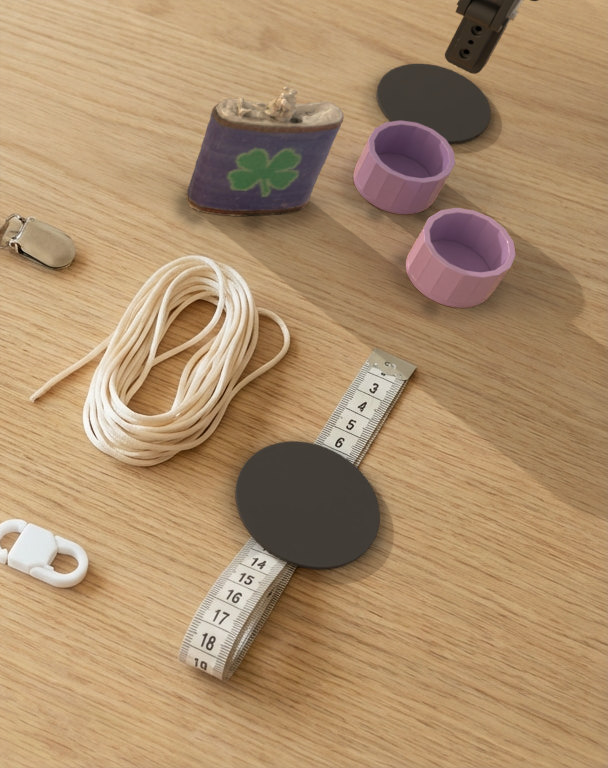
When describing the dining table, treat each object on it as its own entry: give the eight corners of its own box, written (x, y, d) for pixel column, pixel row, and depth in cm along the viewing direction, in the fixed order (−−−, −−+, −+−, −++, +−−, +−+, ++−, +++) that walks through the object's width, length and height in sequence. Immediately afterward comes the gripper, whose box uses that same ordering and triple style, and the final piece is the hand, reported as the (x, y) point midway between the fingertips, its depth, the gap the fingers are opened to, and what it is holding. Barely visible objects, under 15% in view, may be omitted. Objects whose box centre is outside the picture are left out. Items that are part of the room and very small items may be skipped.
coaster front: (341, 432, 80) (343, 430, 80) (402, 554, 75) (404, 551, 75) (214, 457, 78) (215, 454, 78) (267, 582, 74) (269, 580, 73)
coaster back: (456, 60, 101) (458, 57, 101) (509, 135, 96) (511, 133, 96) (357, 73, 100) (359, 70, 100) (406, 151, 95) (408, 148, 95)
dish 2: (467, 234, 90) (488, 202, 87) (509, 300, 87) (532, 269, 84) (390, 247, 89) (408, 215, 86) (429, 314, 86) (449, 283, 83)
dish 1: (413, 148, 95) (430, 115, 92) (450, 207, 92) (470, 175, 89) (339, 160, 94) (354, 126, 91) (374, 220, 91) (391, 187, 88)
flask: (303, 188, 92) (350, 80, 83) (311, 217, 91) (359, 110, 82) (182, 186, 92) (216, 77, 83) (187, 216, 90) (223, 108, 81)
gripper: (664, -151, 53) (502, 122, 67) (767, -275, 60) (601, -3, 73) (504, -216, 56) (379, 60, 69) (620, -328, 62) (485, -56, 76)
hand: (493, 27), depth 71 cm, fingers open, 8 cm apart
